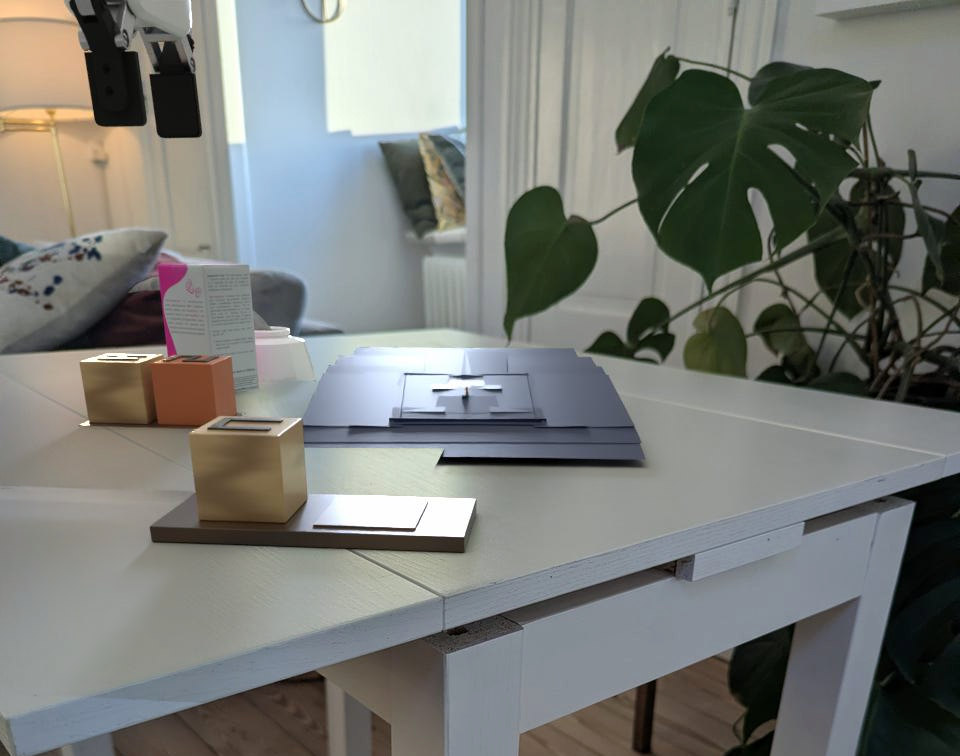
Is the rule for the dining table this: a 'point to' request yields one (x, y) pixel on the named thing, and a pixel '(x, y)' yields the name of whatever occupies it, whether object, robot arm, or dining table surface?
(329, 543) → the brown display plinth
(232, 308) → the supplement box
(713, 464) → the dining table surface
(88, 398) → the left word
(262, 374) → the white piece
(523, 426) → the grey stepped plate
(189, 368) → the orange embossed-top cube
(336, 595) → the dining table surface
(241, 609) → the dining table surface
